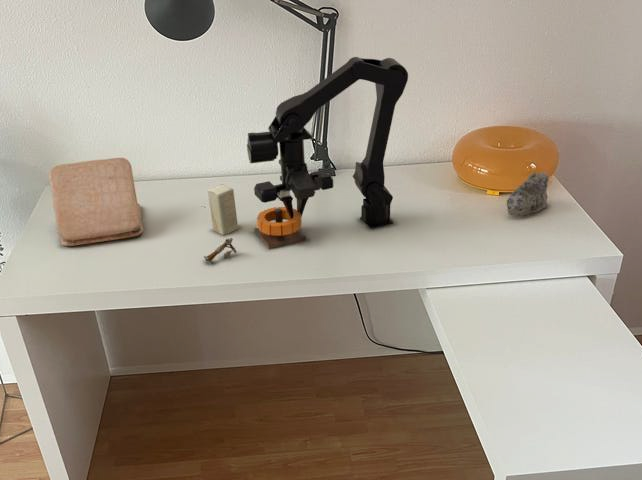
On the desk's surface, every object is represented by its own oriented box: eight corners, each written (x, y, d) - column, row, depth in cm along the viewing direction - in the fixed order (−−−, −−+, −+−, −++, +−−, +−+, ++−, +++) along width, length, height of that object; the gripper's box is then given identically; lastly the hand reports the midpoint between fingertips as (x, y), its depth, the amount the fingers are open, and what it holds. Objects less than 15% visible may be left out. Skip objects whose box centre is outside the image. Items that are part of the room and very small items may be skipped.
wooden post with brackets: (241, 250, 182) (232, 237, 179) (215, 271, 181) (206, 258, 177) (237, 247, 183) (228, 234, 180) (212, 268, 182) (203, 255, 179)
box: (228, 223, 196) (223, 183, 190) (238, 228, 194) (234, 188, 187) (212, 230, 193) (206, 189, 187) (222, 235, 191) (217, 194, 184)
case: (60, 250, 187) (44, 189, 178) (63, 214, 204) (48, 157, 194) (144, 239, 191) (132, 178, 181) (140, 205, 207) (129, 148, 198)
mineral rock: (507, 221, 192) (512, 183, 186) (493, 203, 201) (497, 167, 195) (556, 216, 194) (562, 178, 188) (540, 199, 202) (545, 162, 196)
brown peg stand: (291, 224, 195) (289, 198, 191) (306, 240, 187) (305, 213, 183) (254, 232, 192) (252, 206, 187) (268, 249, 184) (266, 222, 180)
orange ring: (291, 213, 193) (291, 203, 192) (307, 229, 185) (307, 220, 184) (252, 221, 190) (251, 212, 189) (267, 239, 182) (266, 229, 181)
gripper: (267, 177, 170) (272, 239, 180) (342, 161, 176) (343, 223, 185) (250, 160, 179) (256, 221, 188) (322, 146, 185) (324, 206, 194)
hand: (295, 218), depth 189 cm, fingers closed on orange ring, 2 cm apart
